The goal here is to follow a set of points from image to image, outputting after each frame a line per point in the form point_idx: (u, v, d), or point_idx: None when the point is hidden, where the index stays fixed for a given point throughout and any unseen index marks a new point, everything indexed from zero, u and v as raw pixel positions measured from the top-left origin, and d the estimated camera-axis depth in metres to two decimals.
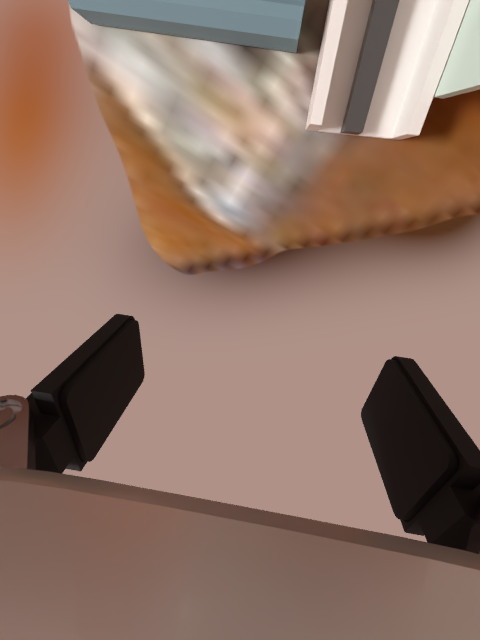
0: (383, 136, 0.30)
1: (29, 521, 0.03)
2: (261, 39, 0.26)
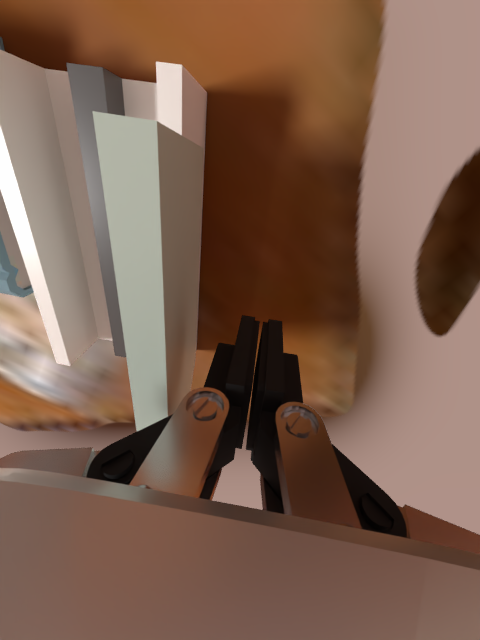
0: None
1: (29, 521, 0.03)
2: None
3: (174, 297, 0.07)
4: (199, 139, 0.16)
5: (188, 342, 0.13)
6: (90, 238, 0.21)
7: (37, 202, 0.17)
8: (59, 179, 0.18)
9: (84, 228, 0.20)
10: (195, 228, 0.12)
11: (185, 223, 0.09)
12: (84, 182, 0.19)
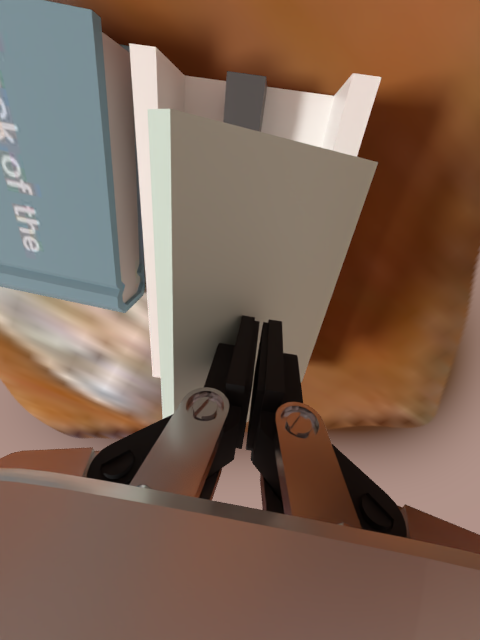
0: None
1: (29, 521, 0.03)
2: None
3: (213, 277, 0.08)
4: None
5: None
6: None
7: None
8: None
9: None
10: (320, 240, 0.12)
11: (270, 221, 0.09)
12: None
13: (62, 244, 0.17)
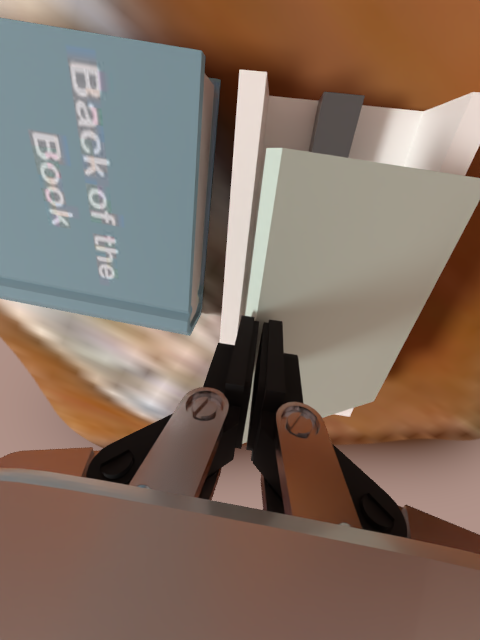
0: None
1: (29, 521, 0.03)
2: None
3: (296, 276, 0.10)
4: None
5: (340, 352, 0.14)
6: None
7: (249, 235, 0.16)
8: (255, 208, 0.17)
9: None
10: (408, 255, 0.12)
11: (354, 233, 0.10)
12: None
13: (138, 271, 0.17)
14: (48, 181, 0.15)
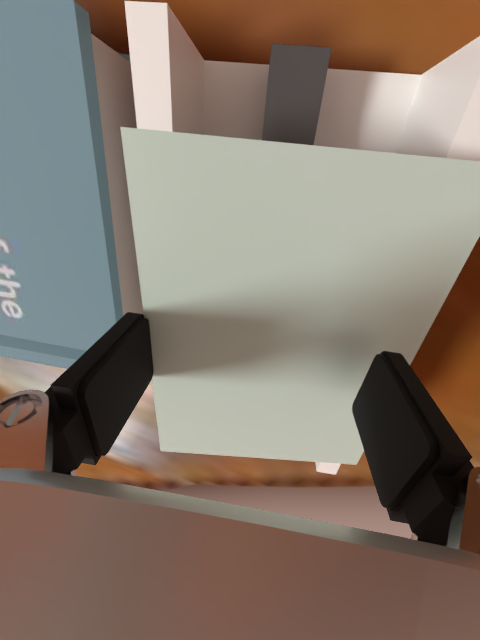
0: None
1: (29, 521, 0.03)
2: None
3: (182, 275, 0.09)
4: None
5: (277, 383, 0.11)
6: None
7: None
8: None
9: None
10: (361, 271, 0.09)
11: (254, 232, 0.08)
12: None
13: (51, 309, 0.13)
14: None
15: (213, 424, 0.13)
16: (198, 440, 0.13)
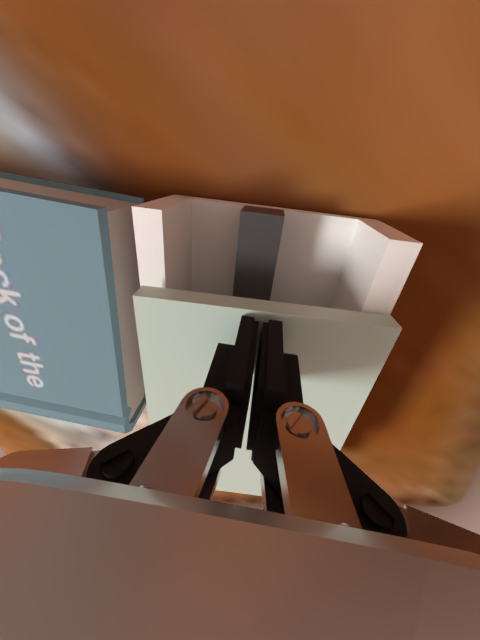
0: None
1: (29, 521, 0.03)
2: None
3: (173, 374, 0.12)
4: None
5: (245, 443, 0.14)
6: None
7: None
8: None
9: None
10: (301, 380, 0.12)
11: None
12: None
13: (67, 383, 0.17)
14: None
15: None
16: None
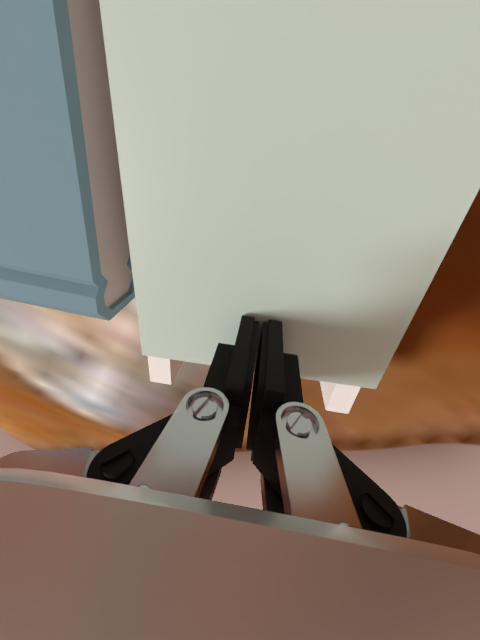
0: None
1: (29, 521, 0.03)
2: None
3: (161, 56, 0.07)
4: None
5: (281, 251, 0.09)
6: None
7: None
8: None
9: None
10: (407, 42, 0.06)
11: None
12: None
13: (8, 217, 0.11)
14: None
15: (202, 316, 0.10)
16: (185, 341, 0.11)
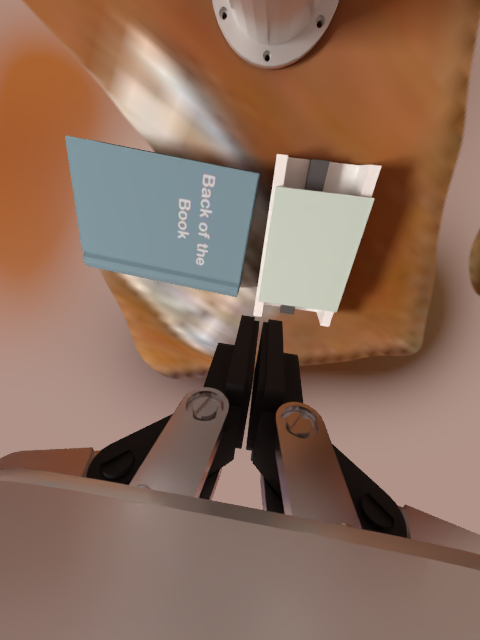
0: (311, 310, 0.41)
1: (29, 521, 0.03)
2: None
3: (282, 226, 0.30)
4: None
5: (307, 268, 0.32)
6: None
7: None
8: None
9: None
10: (335, 226, 0.29)
11: (305, 213, 0.29)
12: None
13: (216, 261, 0.35)
14: (180, 218, 0.33)
15: (281, 287, 0.34)
16: (274, 295, 0.34)
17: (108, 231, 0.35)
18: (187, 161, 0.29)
